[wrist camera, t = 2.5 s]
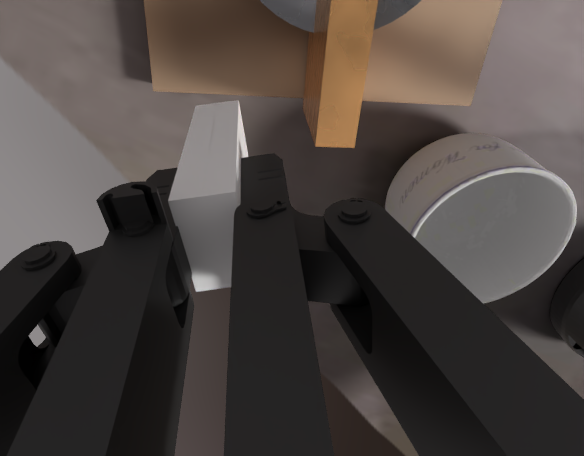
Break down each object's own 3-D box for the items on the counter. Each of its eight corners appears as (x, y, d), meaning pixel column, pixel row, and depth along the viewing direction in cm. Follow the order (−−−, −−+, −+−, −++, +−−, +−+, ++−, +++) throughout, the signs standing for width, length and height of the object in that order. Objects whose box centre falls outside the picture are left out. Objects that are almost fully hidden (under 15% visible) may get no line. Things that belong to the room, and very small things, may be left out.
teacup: (526, 109, 30) (606, 156, 23) (498, 236, 36) (555, 302, 29) (328, 133, 30) (352, 187, 23) (334, 256, 36) (354, 327, 29)
